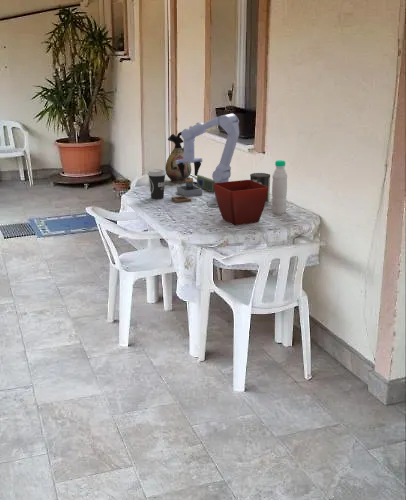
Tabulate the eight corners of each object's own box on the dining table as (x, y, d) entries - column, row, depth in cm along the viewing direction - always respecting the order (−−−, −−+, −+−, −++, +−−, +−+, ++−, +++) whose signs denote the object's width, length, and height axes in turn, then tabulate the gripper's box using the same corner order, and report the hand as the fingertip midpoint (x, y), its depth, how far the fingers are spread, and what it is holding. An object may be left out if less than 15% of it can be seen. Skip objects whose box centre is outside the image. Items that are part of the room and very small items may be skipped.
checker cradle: (192, 202, 325) (192, 199, 324) (176, 203, 321) (176, 200, 321) (186, 198, 333) (186, 195, 332) (170, 200, 329) (170, 197, 329)
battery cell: (194, 193, 341) (193, 177, 339) (187, 194, 340) (186, 178, 338) (192, 192, 345) (191, 176, 343) (184, 192, 344) (184, 176, 341)
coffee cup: (155, 201, 327) (154, 173, 322) (144, 198, 334) (143, 170, 329) (170, 198, 333) (169, 170, 328) (159, 195, 340) (158, 168, 335)
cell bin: (202, 195, 339) (202, 189, 338) (184, 197, 336) (184, 190, 335) (194, 191, 350) (193, 185, 349) (177, 192, 346) (177, 186, 345)
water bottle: (268, 211, 305) (270, 160, 298) (281, 210, 308) (283, 159, 300) (276, 214, 299) (277, 162, 291) (288, 213, 302) (290, 161, 294)
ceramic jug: (167, 184, 367) (165, 133, 358) (164, 179, 382) (163, 130, 372) (195, 183, 369) (195, 132, 360) (192, 178, 384) (191, 129, 375)
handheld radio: (212, 193, 347) (191, 185, 367) (217, 192, 348) (196, 184, 369) (212, 181, 345) (191, 173, 365) (218, 180, 346) (196, 173, 367)
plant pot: (230, 228, 277) (230, 191, 272) (212, 218, 293) (212, 182, 288) (268, 223, 284) (269, 187, 279) (249, 214, 301) (249, 179, 296)
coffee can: (262, 204, 318) (263, 177, 314) (245, 202, 324) (246, 175, 320) (273, 201, 326) (274, 174, 322) (256, 198, 332) (257, 172, 328)
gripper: (198, 149, 342) (199, 173, 346) (173, 150, 337) (174, 176, 341) (203, 151, 336) (203, 176, 340) (178, 152, 331) (178, 178, 335)
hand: (189, 176), depth 340 cm, fingers open, 7 cm apart
